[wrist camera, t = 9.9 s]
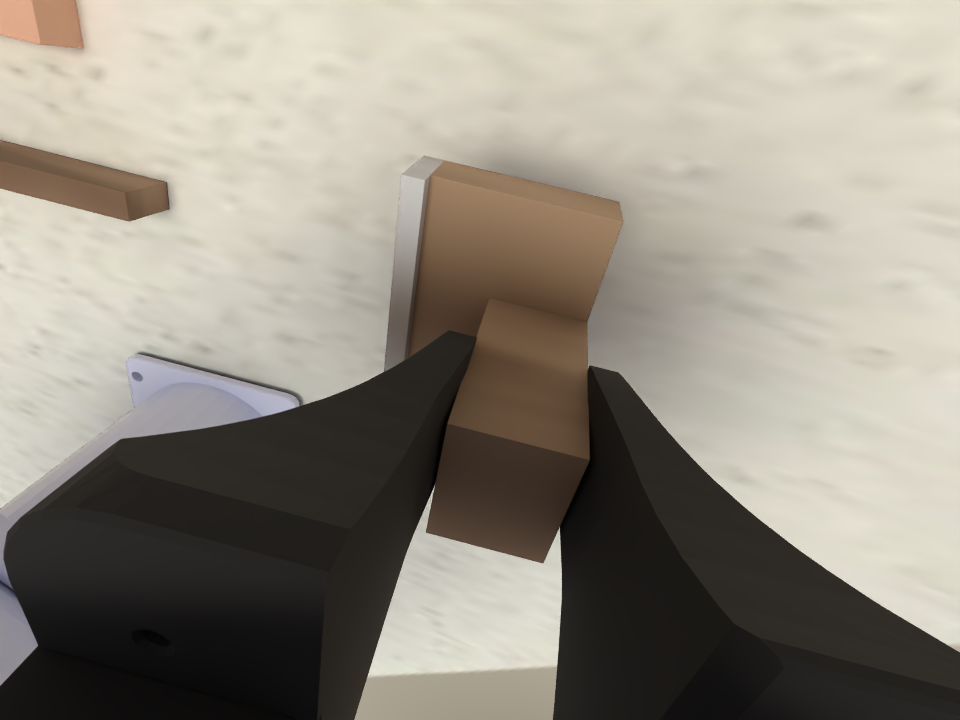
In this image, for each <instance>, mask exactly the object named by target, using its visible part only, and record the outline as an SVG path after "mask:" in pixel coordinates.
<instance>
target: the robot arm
mask: <svg viewBox="0 0 960 720" xmlns="http://www.w3.org/2000/svg"><path fill="white" fill-rule="evenodd" d="M476 339H477V337H474V336H470V335H466V334H462V333H458V332H454V331H450V330H449V331H447V332H445V333H443V334H442V335H440V336H439V337H438V338H436V339H435V340H433V341H432V342H431V343H429V344H428V345H426V346H425V347H424V348H422V349H421V350H419V351H418V352H416V353H415V354H413V355H411V356H410V357H408V358H407V359H405V360H404V361H402V362H400V363H399V364H397V365H396V366H394V367H392V368H390V369H388V370H387V371H385V372H383V373H381V374H379V375H377V376H376V377H374V378H372V379H370V380H368V381H366V382H364V383H362V384H360V385H357V386H355V387H353V388H350V389H348V390H345V391H343V392H340V393H338V394H335V395H333V396H330V397H327V398H325V399H322V400H318V401H315V402H312V403H309V404H305V405H302V406H300V405H299V401H298V400H297V398H296V397H294V396H293V395H291V394H288V393H284V392H280V391H277V390H273V389H269V388H265V387H262V386H258V385H254V384H250V383H246V382H243V381H239V380H235V379H231V378H228V377H224V376H220V375H216V374H212V373H209V372H205V371H201V370H197V369H194V368H190V367H186V366H182V365H178V364H175V363H171V362H167V361H163V360H160V359H156V358H152V357H148V356H144V355H141V354H135V355H132V356H131V357H129V358H128V359H127V360H126V367H127V372H128V378H129V383H130V389H131V394H132V400H133V405H134V409H133V410H131V411H130V412H129V413H127V414H126V415H125V416H123V417H122V418H121V419H119V420H118V421H117V422H115V423H114V424H113V425H111V426H110V427H109V428H107V429H106V430H105V431H103V432H102V433H101V434H99V435H98V436H97V437H95V438H94V439H93V440H91V441H90V442H89V443H87V444H86V445H85V446H83V447H82V448H81V449H79V450H78V451H77V452H75V453H74V454H73V455H71V456H70V457H69V458H67V459H66V460H65V461H63V462H62V463H61V464H59V465H58V466H56V467H55V468H54V469H52V470H51V471H50V472H48V473H47V474H46V475H44V476H43V477H42V478H40V479H39V480H38V481H36V482H35V483H34V484H32V485H31V486H30V487H28V488H27V489H26V490H24V491H23V492H22V493H20V494H19V495H18V496H16V497H15V498H14V499H12V500H11V501H10V502H8V503H7V504H6V505H4V506H3V507H2V508H0V720H354V718H355V715H356V712H357V708H358V705H359V702H360V699H361V696H362V692H363V689H364V686H365V683H366V679H367V676H368V673H369V670H370V666H371V663H372V660H373V656H374V653H375V650H376V647H377V644H378V640H379V637H380V634H381V631H382V628H383V624H384V621H385V618H386V615H387V612H388V608H389V605H390V602H391V599H392V596H393V593H394V589H395V586H396V583H397V580H398V577H399V574H400V571H401V567H402V564H403V561H404V558H405V555H406V553H407V550H408V547H409V545H410V542H411V539H412V537H413V534H414V532H415V530H416V527H417V525H418V523H419V520H420V518H421V516H422V513H423V511H424V509H425V506H426V504H427V502H428V500H429V497H430V495H431V493H432V490H433V488H434V486H435V483H436V479H437V473H438V468H439V463H440V458H441V453H442V448H443V443H444V438H445V433H446V428H447V423H448V420H449V417H450V414H451V411H452V408H453V405H454V402H455V399H456V396H457V393H458V390H459V387H460V384H461V382H462V380H463V378H464V376H465V374H466V371H467V368H468V365H469V362H470V359H471V356H472V353H473V350H474V347H475V344H476ZM587 387H588V407H589V446H590V461H589V463H588V465H587V467H586V469H585V472H584V474H583V476H582V478H581V481H580V483H579V485H578V487H577V489H576V492H575V494H574V496H573V498H572V500H571V503H570V505H569V507H568V509H567V512H566V514H565V516H564V518H563V520H562V523H561V525H560V540H561V563H562V605H561V621H560V637H559V652H558V665H557V679H556V690H555V703H554V714H553V720H960V652H958V651H956V650H954V649H953V648H951V647H950V646H948V645H946V644H945V643H943V642H941V641H939V640H938V639H936V638H934V637H933V636H931V635H929V634H928V633H926V632H924V631H923V630H921V629H919V628H918V627H916V626H914V625H913V624H911V623H909V622H907V621H906V620H904V619H902V618H901V617H899V616H897V615H896V614H894V613H892V612H891V611H889V610H887V609H886V608H884V607H882V606H881V605H879V604H878V603H876V602H874V601H873V600H871V599H870V598H868V597H867V596H865V595H864V594H862V593H861V592H859V591H858V590H856V589H855V588H853V587H852V586H850V585H849V584H847V583H846V582H844V581H843V580H841V579H840V578H838V577H837V576H835V575H834V574H832V573H831V572H829V571H828V570H826V569H825V568H823V567H822V566H821V565H819V564H818V563H816V562H815V561H814V560H812V559H811V558H809V557H808V556H806V555H805V554H804V553H802V552H801V551H799V550H798V549H797V548H795V547H794V546H793V545H791V544H790V543H789V542H788V541H786V540H785V539H784V538H782V537H781V536H780V535H779V534H777V533H776V532H775V531H773V530H772V529H771V528H769V527H768V526H767V525H766V524H764V523H763V522H762V521H760V520H759V519H758V518H757V517H756V516H754V515H753V514H752V513H751V512H749V511H748V510H747V509H746V508H745V507H743V506H742V505H741V504H740V503H739V502H738V501H737V500H736V499H734V498H733V497H732V496H731V495H730V494H729V493H728V492H727V491H726V490H724V489H723V488H722V487H721V486H720V485H719V484H718V483H717V482H716V481H714V480H713V479H712V478H711V477H710V476H709V475H708V474H707V473H706V472H705V471H704V470H703V469H702V468H701V467H700V466H699V465H698V464H697V463H696V462H695V461H694V460H693V459H692V458H691V457H690V455H689V454H688V453H687V452H686V451H685V450H684V449H683V448H682V447H681V446H680V445H679V444H678V443H677V442H676V440H675V439H674V438H673V437H672V436H671V435H670V434H669V433H668V431H667V430H666V429H665V428H664V427H663V426H662V424H661V423H660V422H659V421H658V420H657V418H656V417H655V416H654V415H653V414H652V412H651V411H650V410H649V409H648V407H647V406H646V405H645V404H644V402H643V401H642V400H641V399H640V397H639V396H638V395H637V394H636V392H635V391H634V390H633V389H632V387H631V386H630V385H629V384H628V383H627V381H626V380H625V379H624V378H623V377H622V376H621V375H620V374H619V373H618V372H614V371H610V370H606V369H602V368H598V367H594V366H589V368H588V371H587Z"/></svg>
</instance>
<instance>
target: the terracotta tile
mask: <svg viewBox="0 0 960 720" xmlns="http://www.w3.org/2000/svg"><path fill="white" fill-rule="evenodd" d="M0 35H3V36H7V37H11V38H15V39H19V40H23V41H28V42H32V43H36V44H40V45H51V46H63V47H75V48H84V46H83V40H82V34H81V29H80V23H79V17H78V11H77V5H76V0H0Z"/></svg>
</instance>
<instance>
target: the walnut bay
mask: <svg viewBox="0 0 960 720" xmlns="http://www.w3.org/2000/svg"><path fill="white" fill-rule="evenodd" d="M0 188H1V189H5V190H9V191H12V192H16V193H20V194H24V195H28V196H32V197H36V198H40V199H44V200H47V201H51V202H55V203H59V204H63V205H67V206H71V207H75V208H79V209H82V210H86V211H90V212H94V213H98V214H102V215H106V216H110V217H114V218H117V219H121V220H125V221H132V220H136V219H139V218H142V217H145V216H149V215H152V214H155V213H158V212H161V211H165V210H168V209H169V204H168V195H167V186H166V182H163V181H159V180H155V179H151V178H147V177H143V176H139V175H135V174H131V173H127V172H123V171H119V170H116V169H112V168H108V167H104V166H100V165H96V164H92V163H88V162H84V161H80V160H76V159H72V158H68V157H64V156H60V155H57V154H53V153H49V152H45V151H41V150H37V149H33V148H29V147H25V146H21V145H17V144H13V143H9V142H5V141H1V140H0Z"/></svg>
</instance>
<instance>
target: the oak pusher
mask: <svg viewBox="0 0 960 720" xmlns="http://www.w3.org/2000/svg"><path fill="white" fill-rule="evenodd" d="M622 224H623V218H622V213H621V209H620V204H619V202H617V201H613V200H608V199H604V198H600V197H596V196H592V195H587V194H583V193H579V192H575V191H571V190H566V189H562V188H558V187H554V186H550V185H545V184H541V183H537V182H533V181H528V180H524V179H520V178H516V177H512V176H507V175H503V174H499V173H495V172H491V171H486V170H482V169H478V168H474V167H470V166H465V165H461V164H457V163H453V162H449V161H444V160H440V159H436V158H432V157H428V156H423V157H422V158H421V159H420V160H418V161H417V162H416V163H415V164H414V165H412V166H411V167H410V168H409V169H408V170H406V171H405V172H404V173H403V174H402V175H401V187H400V198H399V209H398V221H397V232H396V243H395V254H394V266H393V277H392V288H391V300H390V311H389V322H388V334H387V345H386V356H385V367H384V372H385V371H387V370H388V369H390V368H392V367H394V366H396V365H397V364H399V363H400V362H402V361H404V360H405V359H407V358H408V357H410V356H411V355H413V354H415V353H416V352H418V351H419V350H421V349H422V348H424V347H425V346H426V345H428V344H429V343H431V342H432V341H433V340H435V339H436V338H438V337H439V336H440V335H442V334H443V333H445V332H447V331H449V330H450V331H454V332H458V333H462V334H466V335H470V336H474V337H477V339H476V344H475V347H474V350H473V353H472V356H471V359H470V362H469V365H468V368H467V371H466V374H465V376H464V378H463V380H462V382H461V384H460V387H459V390H458V393H457V396H456V399H455V402H454V405H453V408H452V411H451V414H450V417H449V420H448V423H447V428H446V433H445V438H444V443H443V448H442V453H441V458H440V463H439V468H438V473H437V479H436V484H435V489H434V494H433V499H432V504H431V509H430V514H429V519H428V524H427V529H426V533H430V534H433V535H437V536H441V537H445V538H449V539H452V540H456V541H460V542H464V543H468V544H471V545H475V546H479V547H483V548H487V549H490V550H494V551H498V552H502V553H506V554H509V555H513V556H517V557H521V558H525V559H528V560H532V561H536V562H540V563H543V562H544V560H545V558H546V556H547V554H548V551H549V549H550V547H551V545H552V543H553V540H554V538H555V536H556V534H557V531H558V529H559V527H560V525H561V523H562V520H563V518H564V516H565V514H566V512H567V509H568V507H569V505H570V503H571V500H572V498H573V496H574V494H575V492H576V489H577V487H578V485H579V483H580V481H581V478H582V476H583V474H584V472H585V469H586V467H587V465H588V463H589V461H590V446H589V407H588V387H587V371H588V347H587V320H588V318H589V315H590V312H591V309H592V307H593V304H594V301H595V298H596V296H597V293H598V290H599V287H600V285H601V282H602V279H603V276H604V274H605V271H606V268H607V265H608V262H609V260H610V257H611V254H612V251H613V249H614V246H615V243H616V240H617V238H618V235H619V232H620V229H621V227H622Z"/></svg>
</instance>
